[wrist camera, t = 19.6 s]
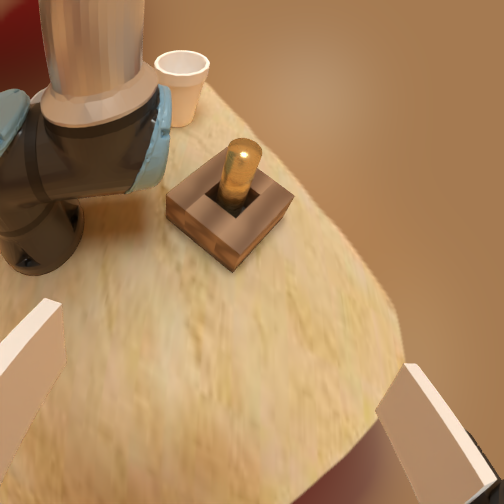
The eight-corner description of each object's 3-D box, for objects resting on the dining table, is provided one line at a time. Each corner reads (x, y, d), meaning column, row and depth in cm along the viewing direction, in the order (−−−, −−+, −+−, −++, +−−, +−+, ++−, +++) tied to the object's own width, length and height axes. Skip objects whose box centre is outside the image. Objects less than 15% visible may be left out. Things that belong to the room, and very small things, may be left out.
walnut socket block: (166, 217, 46) (165, 194, 40) (221, 171, 52) (227, 147, 47) (232, 272, 44) (240, 254, 39) (282, 217, 50) (294, 196, 45)
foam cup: (210, 119, 57) (220, 65, 46) (174, 139, 53) (178, 82, 41) (180, 97, 58) (185, 46, 47) (144, 115, 54) (144, 61, 43)
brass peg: (208, 213, 46) (221, 148, 34) (225, 198, 48) (242, 133, 36) (228, 229, 46) (248, 168, 34) (244, 213, 48) (268, 151, 36)
